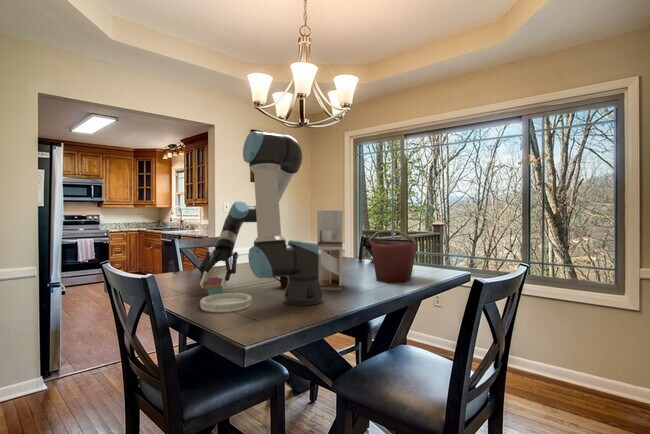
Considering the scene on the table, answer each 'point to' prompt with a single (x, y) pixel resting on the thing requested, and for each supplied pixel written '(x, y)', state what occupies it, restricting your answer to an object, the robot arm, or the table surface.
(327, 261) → the display case
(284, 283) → the coffee mug
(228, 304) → the rimmed plate
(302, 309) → the table surface
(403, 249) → the bucket
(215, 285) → the cupcake
